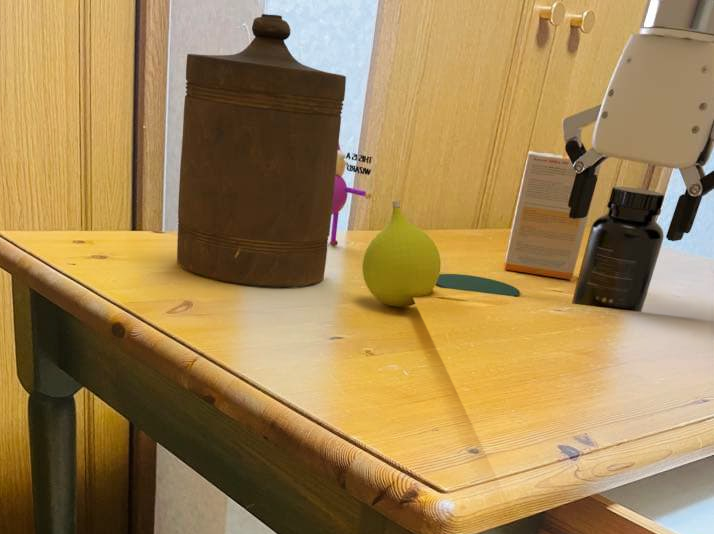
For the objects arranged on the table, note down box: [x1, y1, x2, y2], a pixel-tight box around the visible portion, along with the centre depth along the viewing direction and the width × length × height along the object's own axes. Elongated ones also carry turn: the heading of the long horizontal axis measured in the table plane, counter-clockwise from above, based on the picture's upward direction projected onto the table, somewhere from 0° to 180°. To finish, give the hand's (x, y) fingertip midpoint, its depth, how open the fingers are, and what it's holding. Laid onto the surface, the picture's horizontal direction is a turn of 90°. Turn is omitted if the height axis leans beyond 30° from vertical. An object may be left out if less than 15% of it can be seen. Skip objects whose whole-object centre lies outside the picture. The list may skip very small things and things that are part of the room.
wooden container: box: [176, 13, 347, 288], centre depth 80 cm, size 15×15×22 cm
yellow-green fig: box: [362, 197, 442, 308], centre depth 76 cm, size 7×7×10 cm
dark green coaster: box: [435, 273, 521, 298], centre depth 91 cm, size 10×10×1 cm
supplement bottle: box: [571, 186, 665, 313], centre depth 82 cm, size 7×7×12 cm
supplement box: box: [504, 150, 602, 281], centre depth 100 cm, size 8×5×13 cm, turn 77°
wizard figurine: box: [329, 143, 373, 247], centre depth 99 cm, size 11×3×12 cm, turn 49°
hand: (624, 228), depth 81 cm, fingers open, 9 cm apart
